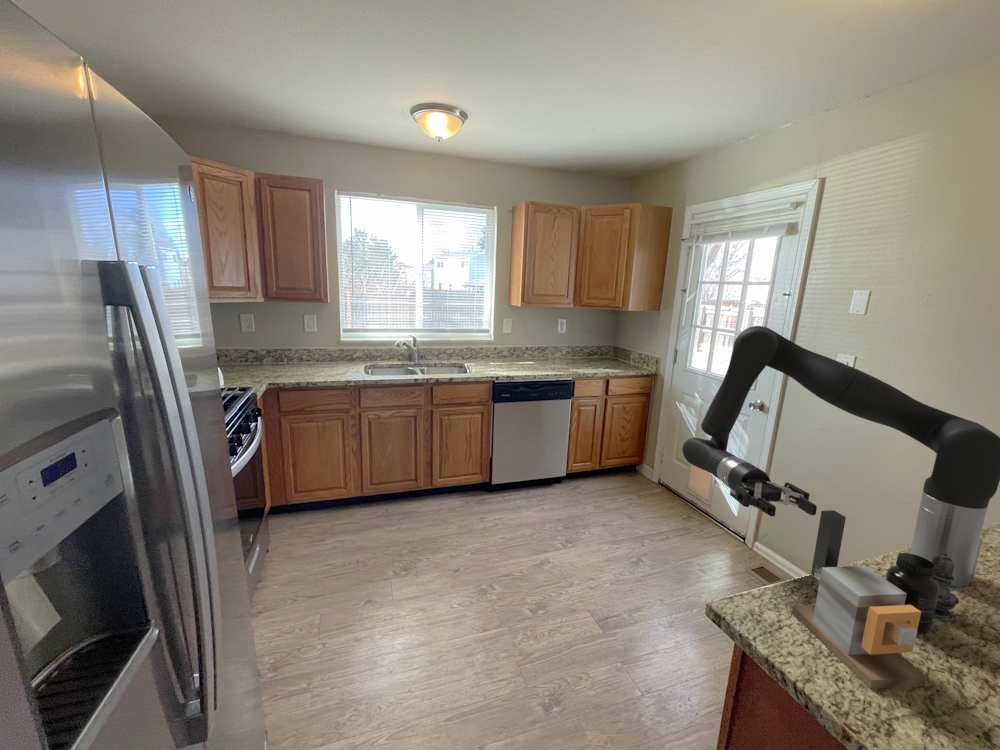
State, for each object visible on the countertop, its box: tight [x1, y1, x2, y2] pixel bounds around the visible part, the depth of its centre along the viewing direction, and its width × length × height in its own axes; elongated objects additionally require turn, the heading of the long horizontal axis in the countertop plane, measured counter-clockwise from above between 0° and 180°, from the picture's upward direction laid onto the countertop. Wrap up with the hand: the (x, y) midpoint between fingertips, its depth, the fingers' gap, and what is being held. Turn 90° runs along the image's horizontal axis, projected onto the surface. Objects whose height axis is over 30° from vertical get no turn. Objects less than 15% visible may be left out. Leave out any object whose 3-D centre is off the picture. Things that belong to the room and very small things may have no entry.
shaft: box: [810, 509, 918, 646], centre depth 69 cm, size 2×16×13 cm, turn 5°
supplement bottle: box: [885, 552, 940, 634], centre depth 76 cm, size 7×7×12 cm
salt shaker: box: [932, 552, 960, 621], centre depth 79 cm, size 6×6×12 cm
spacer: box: [861, 605, 921, 655], centre depth 65 cm, size 7×2×7 cm, turn 95°
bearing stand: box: [791, 565, 928, 690], centre depth 70 cm, size 9×16×12 cm, turn 5°
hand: (794, 511), depth 83 cm, fingers open, 8 cm apart
